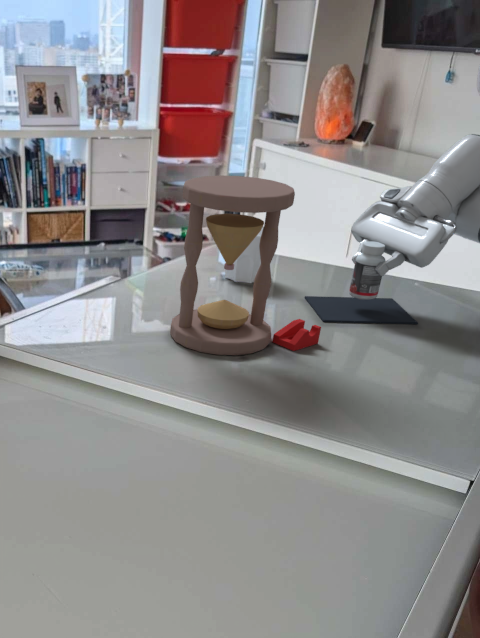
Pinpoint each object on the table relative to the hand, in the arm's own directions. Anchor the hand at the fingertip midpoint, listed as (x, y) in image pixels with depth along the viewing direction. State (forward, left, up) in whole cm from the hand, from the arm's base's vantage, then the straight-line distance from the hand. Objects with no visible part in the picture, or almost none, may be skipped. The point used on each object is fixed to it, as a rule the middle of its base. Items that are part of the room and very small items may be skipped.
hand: (366, 267), depth 143 cm
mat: (-1, 0, -8) cm, 8 cm away
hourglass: (+29, +16, -9) cm, 34 cm away
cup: (+18, -20, -9) cm, 29 cm away
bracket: (+16, +18, -9) cm, 26 cm away
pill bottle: (-1, 0, -6) cm, 6 cm away
